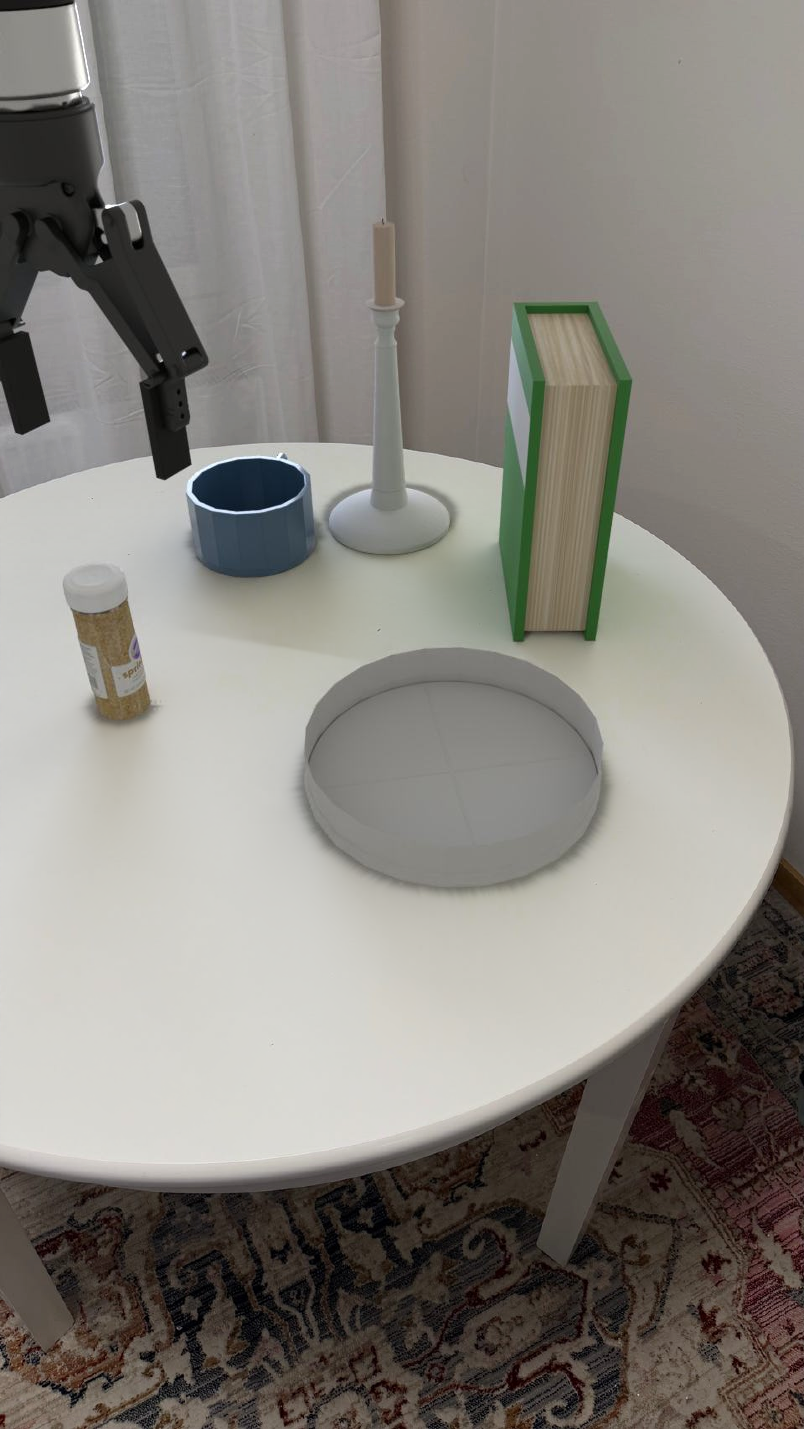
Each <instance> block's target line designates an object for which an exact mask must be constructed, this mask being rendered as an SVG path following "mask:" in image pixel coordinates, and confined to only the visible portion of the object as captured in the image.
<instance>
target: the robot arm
mask: <svg viewBox="0 0 804 1429" xmlns="http://www.w3.org/2000/svg"><path fill="white" fill-rule="evenodd" d="M90 78H91V77H90V74H89V68H88V63H87V56H86V51H85V44H84V39H83V34H82V28H81V24H80V17H79V11H78V7H77V2H76V0H0V383H1V386H2V389H3V393H4V397H5V400H6V405H7V408H8V412H9V415H10V419H11V423H12V426H13V430H14V434H18V435H21V436H24V435H26V434H28V433H31V432H32V431H35V430H36V429H39V428H40V427H43V426H44V425H47V424H49V423H51V417H50V412H49V408H48V405H47V401H46V396H45V393H44V389H43V385H42V380H41V377H40V372H39V368H38V364H37V360H36V356H35V353H34V348H33V344H32V339H31V336H30V332H29V331H25V330H19V331H16V332H15V331H14V330H16V329H19V328H21V327H23V326H25V325H26V322H24V319H23V318H22V316H23V314H24V312H25V309H26V306H27V304H28V301H29V298H30V296H31V293H32V290H33V287H34V285H35V282H36V280H37V277H38V274H39V272H40V273H42V272H47V271H48V272H49V271H50V272H52V273H54V274H55V275H56V276H59V277H63V278H67V279H68V278H70V279H71V280H72V282H73V283H74V284H75V286H76V287H77V288H78V289H80V290H82V291H86V292H87V293H88V294H89V295H90V296H91V298H92V299H93V301H94V302H95V304H96V305H97V306H98V308H99V310H100V311H101V312H102V314H103V315H104V317H105V318H106V319H107V321H108V322H109V323H110V325H111V327H112V328H113V329H114V330H115V332H116V333H117V335H118V336H119V338H120V339H121V341H122V342H123V343H124V345H125V346H126V347H127V348H126V349H128V351H129V352H130V354H131V355H132V356H133V358H134V359H135V361H136V362H137V363H138V365H139V367H140V368H141V369H142V370H143V372H144V374H145V375H146V376H147V378H145V379H144V380H143V379H142V381H140V382H138V384H139V390H140V395H141V402H142V406H143V410H144V411H143V412H144V418H145V421H146V423H145V424H146V429H147V434H148V440H149V445H150V450H151V457H152V461H153V468H154V472H155V478H156V479H159V480H162V481H167V480H168V479H170V478H172V477H174V476H175V475H177V474H179V473H180V472H182V471H183V470H185V469H187V468H189V467H190V466H192V465H193V464H192V463H193V462H192V457H191V451H190V444H189V438H188V432H187V426H188V425H190V423H191V422H190V421H191V413H190V412H191V411H190V405H189V398H188V392H187V385H186V378H187V377H189V376H191V375H193V374H196V373H197V372H198V371H199V372H200V371H201V370H203V369H205V368H206V367H207V366H208V365H209V363H210V362H209V356H208V353H207V351H206V350H205V347H204V345H203V342H202V341H201V339H200V337H199V335H198V332H197V330H196V328H195V327H194V324H193V322H192V320H191V317H190V316H189V314H188V311H187V309H186V307H185V305H184V303H183V300H182V299H181V297H180V295H179V292H178V291H177V288H176V286H175V283H174V282H173V280H172V278H171V276H170V273H169V272H168V270H167V267H166V266H165V264H164V261H163V259H162V257H161V255H160V253H159V251H158V248H157V246H156V244H155V242H154V238H153V235H152V234H153V233H152V231H151V230H152V229H151V226H150V221H149V217H148V212H147V209H146V206H145V204H144V203H143V202H142V201H141V200H139V199H135V198H134V199H132V200H129V201H125V202H122V203H119V204H107V203H106V202H105V200H104V198H103V196H102V193H101V192H100V189H99V188H100V187H99V184H98V182H99V177H100V174H101V171H103V168H104V166H105V153H104V148H103V143H102V136H101V131H100V124H99V119H98V114H97V109H96V104H95V103H94V102H92V101H91V98H90V97H88V96H86V95H83V94H82V91H83V90H85V89H86V88H87V87H88V86H89V84H90V82H91V79H90ZM98 258H100V259H101V260H102V262H98V263H97V261H98ZM21 322H22V323H21ZM158 355H159V356H160V357H161V360H159V359H158V358H159V357H158Z"/></svg>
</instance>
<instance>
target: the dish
mask: <svg viewBox="0 0 804 1429" xmlns="http://www.w3.org/2000/svg"><path fill="white" fill-rule="evenodd" d="M304 731H305V732H304V750H303V754H304V755H303V756H304V773H303V785H304V790H305V795H306V798H307V800H308V803H309V806H310V809H311V812H312V815H313V818H314V820H315V822H316V823H317V824H318V825H319V827H320V828H321V829H322V830H323V832H324V833H325V834H326V836H327V837H328V839H329V840H331V842H332V843H333V845H334V846H336V847H337V848H339V849H340V850H341V851H342V852H344V853H346V854H347V855H348V856H349V857H351V858H352V859H354V860H355V861H357V862H358V863H360V864H361V865H362V866H364V867H366V868H369V869H371V870H374V871H376V872H379V873H381V874H384V875H387V876H389V877H392V878H394V879H396V880H398V881H402V882H408V883H414V884H419V885H424V886H425V885H426V886H431V887H438V888H467V887H470V888H471V887H487V886H488V887H489V886H491V885H492V886H493V885H495V884H499V883H503V882H507V881H511V880H515V879H519V878H523V877H526V876H528V875H531V874H532V873H534V872H536V871H538V870H539V869H542V868H543V867H545V866H547V865H549V864H551V863H553V862H555V861H557V860H559V859H560V858H561V857H562V856H563V855H564V854H565V853H567V852H568V851H569V849H571V848H572V847H573V846H574V845H575V844H576V843H577V842H578V841H579V840H581V838H583V836H584V835H585V833H586V831H587V829H588V827H589V825H590V823H591V821H592V819H593V817H594V815H595V813H596V811H597V809H598V808H597V807H598V802H599V800H600V795H601V794H600V793H601V783H602V775H603V771H602V759H603V751H604V741H603V737H602V734H601V731H600V727H599V722H598V719H597V718H596V716H595V714H594V713H593V712H592V710H591V709H590V707H589V706H588V705H587V703H586V702H585V700H584V699H583V697H582V696H581V695H580V694H579V693H577V692H576V691H575V690H574V689H573V688H572V687H570V686H569V685H568V684H566V683H565V682H564V681H563V680H562V679H560V678H559V677H558V676H557V675H555V674H553V673H551V672H548V671H547V670H545V669H543V668H541V667H539V666H537V665H535V664H533V663H531V662H530V661H527V660H525V659H522V658H521V659H520V658H517V657H514V656H511V655H507V654H503V653H500V652H497V651H492V650H483V649H477V648H469V647H458V646H457V647H425V648H419V649H415V650H410V651H405V652H399V653H394V654H391V655H388V656H385V657H382V658H380V659H377V660H375V661H372V662H369V663H366V664H364V665H362V666H360V667H358V668H357V669H355V670H354V671H352V672H351V673H349V674H347V675H346V676H344V677H342V678H341V679H340V680H338V681H336V682H335V683H334V684H333V685H332V686H331V687H330V689H328V691H327V692H325V694H324V695H323V696H322V697H321V698H320V699H319V701H317V703H316V704H315V706H314V708H313V711H312V713H311V715H310V717H309V720H308V721H307V724H306V726H305V730H304Z"/></svg>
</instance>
